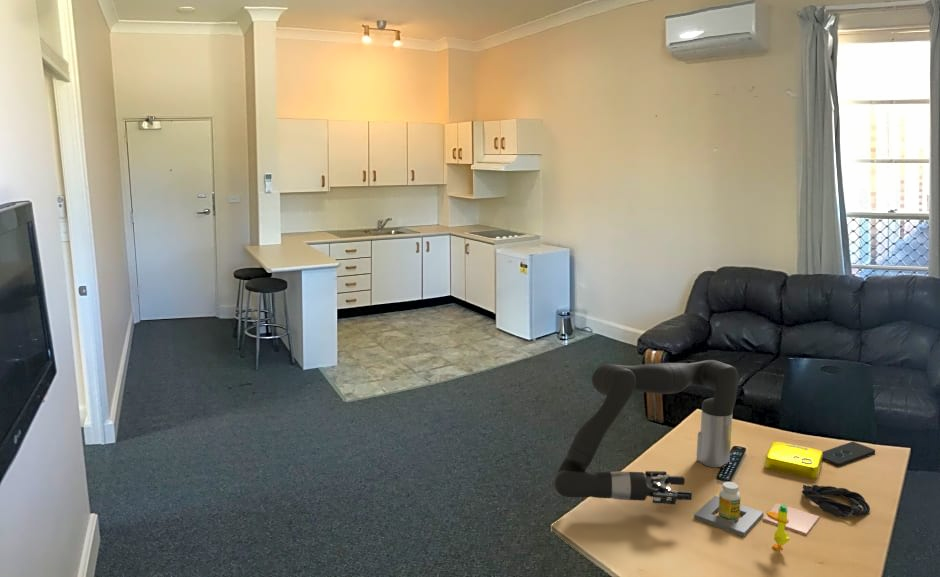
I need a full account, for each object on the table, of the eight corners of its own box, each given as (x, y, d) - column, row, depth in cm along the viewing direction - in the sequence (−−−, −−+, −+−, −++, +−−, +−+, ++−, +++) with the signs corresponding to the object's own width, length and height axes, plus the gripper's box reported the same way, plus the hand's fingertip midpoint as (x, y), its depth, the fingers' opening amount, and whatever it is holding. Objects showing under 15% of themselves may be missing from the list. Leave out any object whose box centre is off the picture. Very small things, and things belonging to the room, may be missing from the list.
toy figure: (760, 544, 170) (763, 501, 168) (767, 539, 172) (771, 496, 170) (786, 556, 165) (790, 512, 162) (793, 551, 167) (797, 507, 164)
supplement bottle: (726, 510, 187) (728, 478, 185) (743, 518, 182) (745, 486, 180) (714, 516, 184) (716, 483, 182) (731, 524, 179) (733, 491, 177)
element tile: (822, 462, 215) (824, 448, 214) (816, 481, 203) (818, 467, 202) (772, 452, 223) (773, 438, 222) (763, 469, 211) (764, 455, 210)
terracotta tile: (762, 520, 181) (762, 518, 181) (777, 504, 189) (777, 502, 189) (806, 535, 174) (806, 533, 174) (819, 518, 182) (819, 516, 181)
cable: (790, 497, 193) (791, 483, 192) (819, 485, 200) (820, 471, 199) (848, 524, 179) (850, 510, 178) (878, 510, 186) (879, 496, 185)
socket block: (693, 518, 183) (694, 514, 182) (714, 499, 192) (714, 495, 192) (743, 536, 173) (744, 532, 173) (763, 516, 183) (763, 512, 183)
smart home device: (814, 453, 218) (852, 440, 227) (814, 458, 218) (851, 445, 227) (838, 463, 210) (876, 449, 220) (838, 468, 211) (876, 454, 220)
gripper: (631, 485, 176) (695, 487, 174) (624, 461, 190) (682, 463, 188) (630, 511, 177) (693, 514, 176) (623, 486, 191) (681, 488, 190)
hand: (687, 488), depth 182 cm, fingers open, 8 cm apart
